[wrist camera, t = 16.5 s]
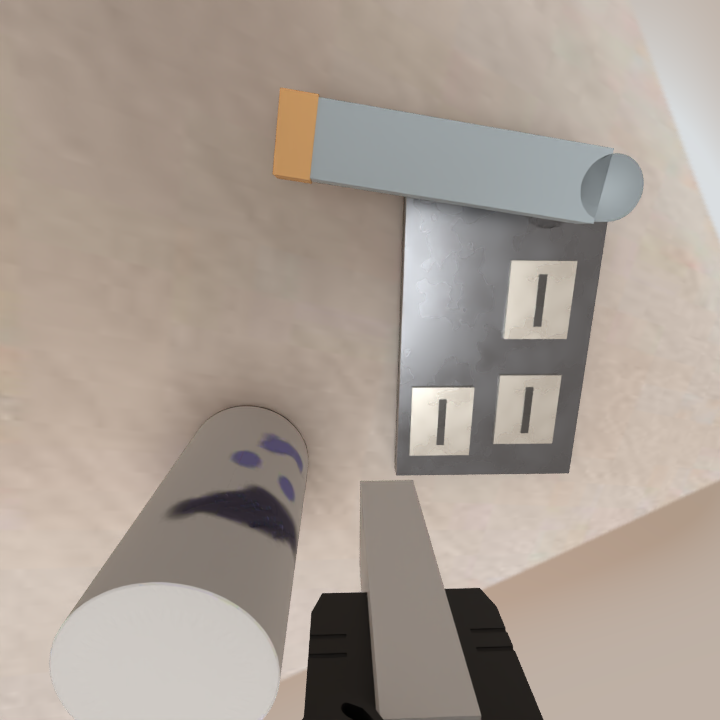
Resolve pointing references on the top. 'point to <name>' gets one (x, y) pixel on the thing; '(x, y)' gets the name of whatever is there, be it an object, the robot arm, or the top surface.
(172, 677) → the container
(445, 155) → the grey long bar
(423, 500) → the top surface
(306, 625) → the top surface
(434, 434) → the slotted grey board
